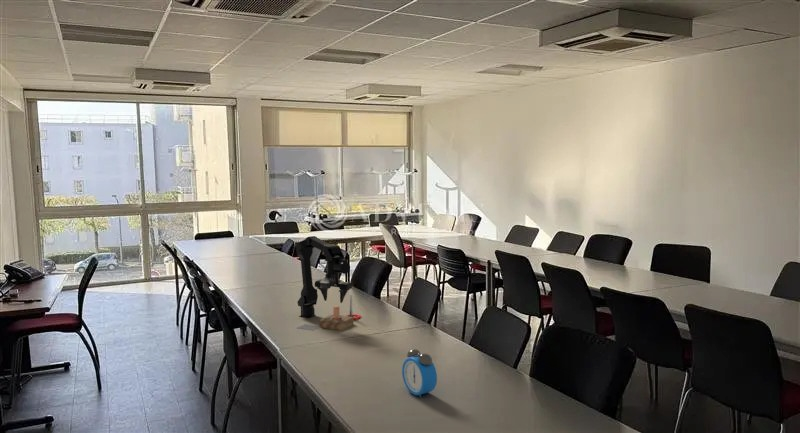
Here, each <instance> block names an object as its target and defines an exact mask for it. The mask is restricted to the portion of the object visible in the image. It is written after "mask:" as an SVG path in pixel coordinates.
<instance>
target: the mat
mask: <svg viewBox="0 0 800 433" xmlns="http://www.w3.org/2000/svg"><path fill="white" fill-rule="evenodd" d="M296 329H299V330H305V331H306V330H307V331H311V332H314V331H315V330H318V329H320V325H314V324H306V323H305V324H303V325H300V326H298V327H296Z"/></svg>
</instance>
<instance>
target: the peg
mask: <svg viewBox="0 0 800 433" xmlns="http://www.w3.org/2000/svg"><path fill="white" fill-rule="evenodd" d="M332 308H333V309H332V312H333V314H332V315H333V317H334V320H340V312H341V311H340V306H339V305H335V306H333V307H332Z"/></svg>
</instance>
